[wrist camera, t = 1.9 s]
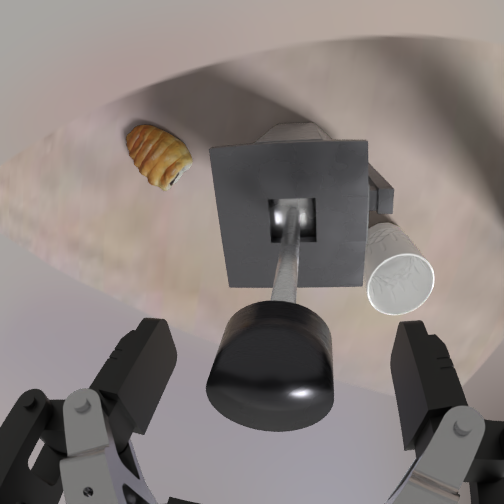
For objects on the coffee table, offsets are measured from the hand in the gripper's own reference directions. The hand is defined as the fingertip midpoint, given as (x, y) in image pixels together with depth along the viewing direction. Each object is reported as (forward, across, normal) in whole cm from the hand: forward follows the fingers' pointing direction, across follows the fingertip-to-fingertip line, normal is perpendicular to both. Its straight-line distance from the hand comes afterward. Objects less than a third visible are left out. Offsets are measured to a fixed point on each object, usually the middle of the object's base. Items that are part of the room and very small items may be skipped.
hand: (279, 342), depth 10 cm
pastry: (+30, +17, -2) cm, 35 cm away
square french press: (+30, -1, 0) cm, 30 cm away
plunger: (+13, 0, 0) cm, 13 cm away
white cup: (+30, -11, +11) cm, 34 cm away
